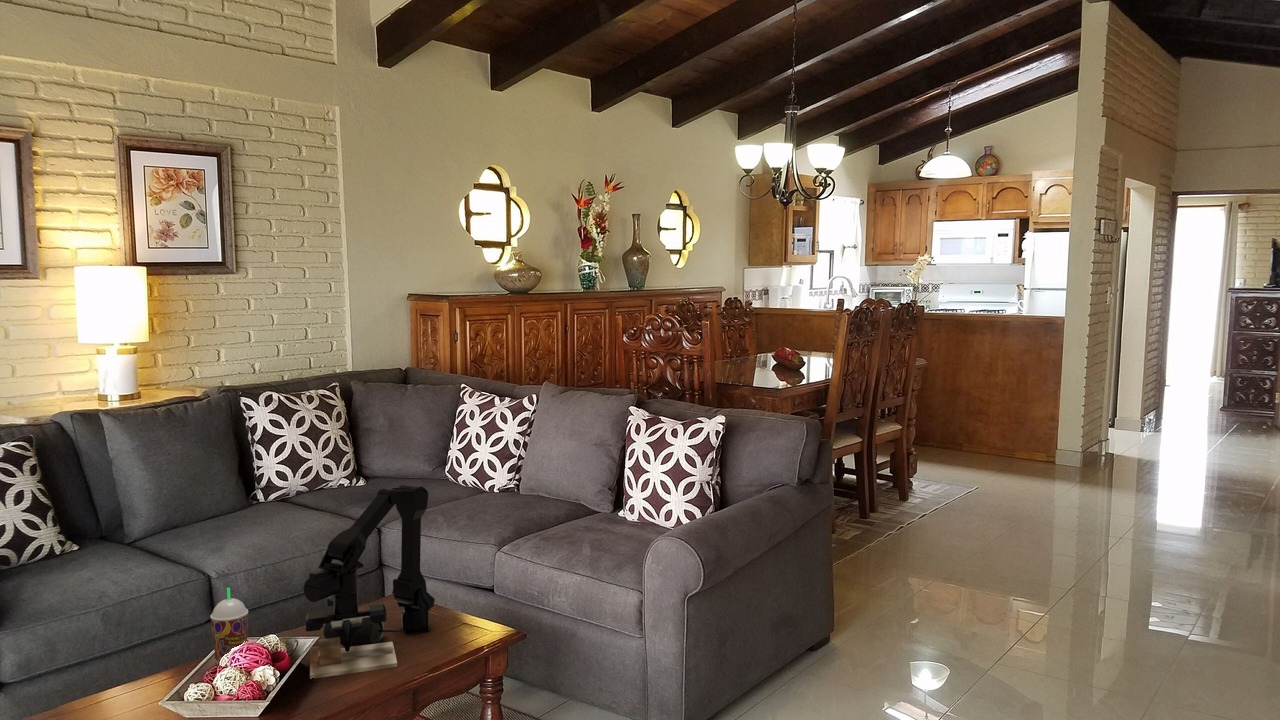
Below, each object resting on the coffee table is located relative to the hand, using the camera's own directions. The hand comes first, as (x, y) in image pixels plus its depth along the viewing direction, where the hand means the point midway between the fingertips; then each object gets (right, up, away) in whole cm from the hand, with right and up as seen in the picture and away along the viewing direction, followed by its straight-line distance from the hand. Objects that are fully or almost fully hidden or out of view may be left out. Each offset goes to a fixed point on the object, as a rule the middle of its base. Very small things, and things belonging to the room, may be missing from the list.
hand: (347, 651), depth 220 cm
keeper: (-4, -2, -1) cm, 4 cm away
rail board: (+1, -3, +1) cm, 3 cm away
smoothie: (-27, -3, -3) cm, 28 cm away
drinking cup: (-10, +1, +14) cm, 17 cm away
